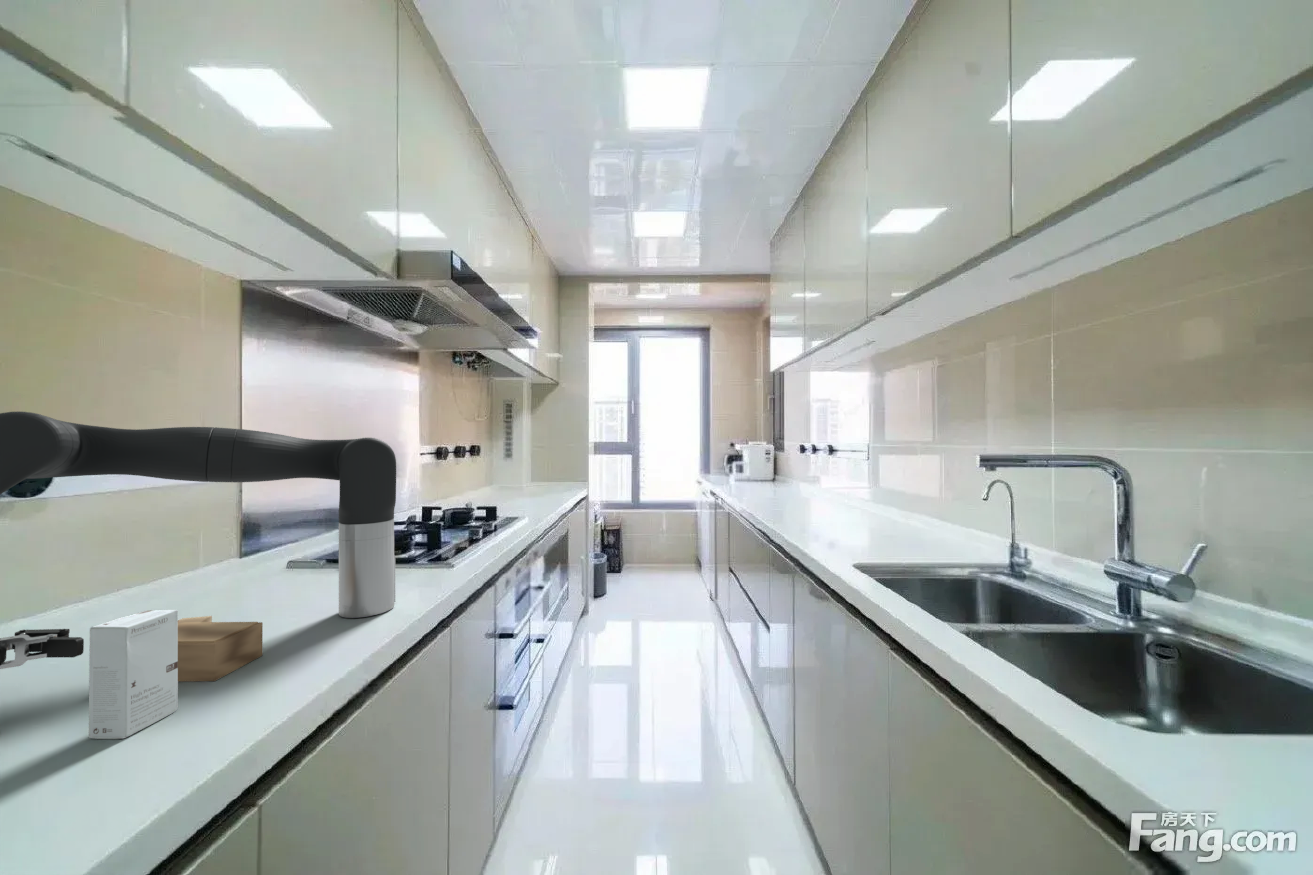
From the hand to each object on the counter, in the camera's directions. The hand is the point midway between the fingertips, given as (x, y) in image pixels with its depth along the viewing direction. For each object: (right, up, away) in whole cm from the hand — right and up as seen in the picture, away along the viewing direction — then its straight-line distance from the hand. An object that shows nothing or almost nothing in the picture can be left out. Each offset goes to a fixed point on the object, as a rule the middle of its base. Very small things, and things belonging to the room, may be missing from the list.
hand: (36, 662), depth 56 cm
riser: (+5, -7, +14) cm, 17 cm away
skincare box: (+11, -7, 0) cm, 13 cm away
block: (-4, -8, +22) cm, 24 cm away
